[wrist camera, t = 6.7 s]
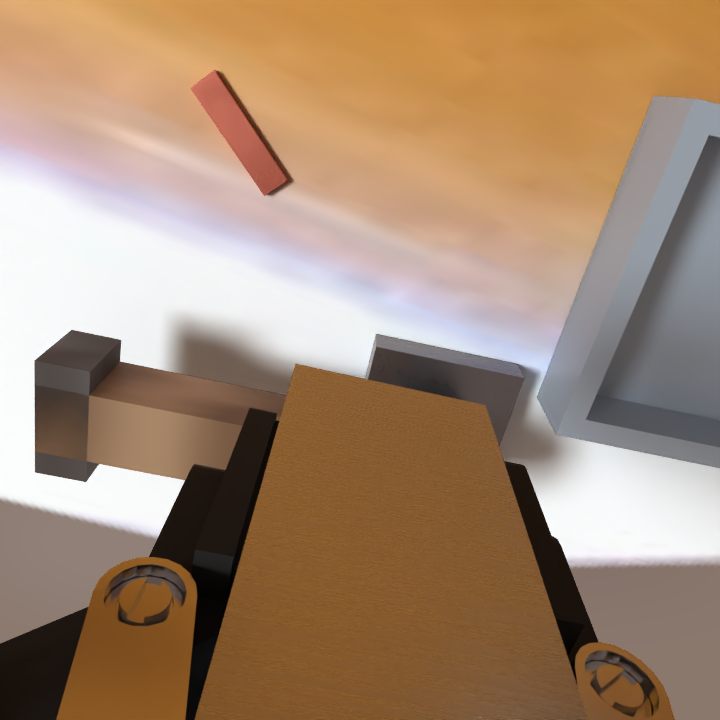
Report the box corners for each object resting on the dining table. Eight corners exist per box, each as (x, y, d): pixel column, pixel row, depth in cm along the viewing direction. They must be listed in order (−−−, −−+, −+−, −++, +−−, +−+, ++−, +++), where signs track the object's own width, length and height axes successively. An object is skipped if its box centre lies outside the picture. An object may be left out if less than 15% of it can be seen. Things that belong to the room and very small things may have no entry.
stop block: (485, 405, 13) (630, 847, 5) (433, 550, 14) (488, 1036, 7) (295, 363, 12) (180, 771, 5) (264, 517, 14) (142, 988, 7)
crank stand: (591, 160, 26) (603, 164, 24) (475, 480, 32) (479, 498, 31) (194, 65, 24) (184, 64, 23) (161, 418, 31) (151, 434, 30)
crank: (484, 394, 28) (505, 455, 23) (453, 482, 30) (467, 554, 26) (92, 312, 27) (34, 360, 22) (88, 410, 29) (35, 472, 24)
